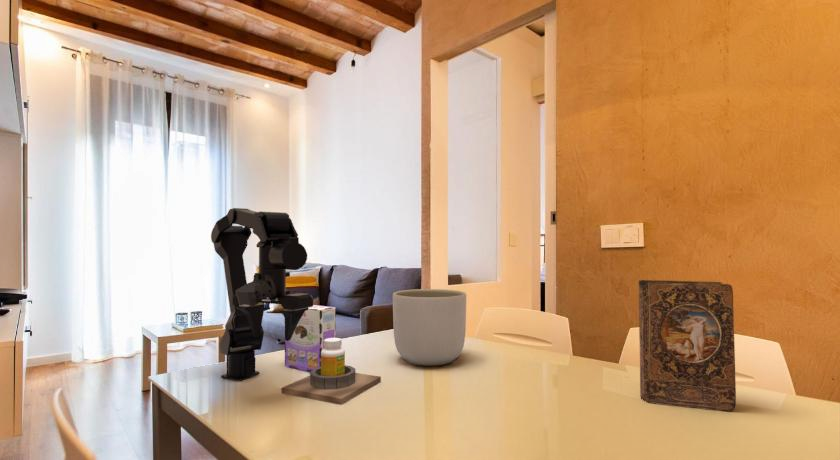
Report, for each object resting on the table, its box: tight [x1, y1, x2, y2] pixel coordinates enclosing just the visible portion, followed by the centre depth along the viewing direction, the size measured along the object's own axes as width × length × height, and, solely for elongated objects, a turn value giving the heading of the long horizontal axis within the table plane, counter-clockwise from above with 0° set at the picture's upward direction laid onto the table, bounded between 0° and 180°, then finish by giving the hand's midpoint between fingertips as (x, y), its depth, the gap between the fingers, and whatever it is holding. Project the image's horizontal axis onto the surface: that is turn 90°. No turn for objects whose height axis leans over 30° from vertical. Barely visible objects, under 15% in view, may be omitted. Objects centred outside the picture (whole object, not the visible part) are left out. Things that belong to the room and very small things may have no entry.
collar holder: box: [281, 364, 382, 405], centre depth 99 cm, size 16×16×4 cm
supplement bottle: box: [321, 337, 346, 376], centre depth 99 cm, size 5×5×10 cm
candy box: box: [284, 304, 337, 373], centre depth 115 cm, size 14×6×16 cm, turn 58°
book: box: [638, 279, 737, 412], centre depth 90 cm, size 16×6×25 cm, turn 71°
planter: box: [392, 288, 467, 367], centre depth 122 cm, size 21×21×19 cm
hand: (271, 338), depth 96 cm, fingers open, 9 cm apart
